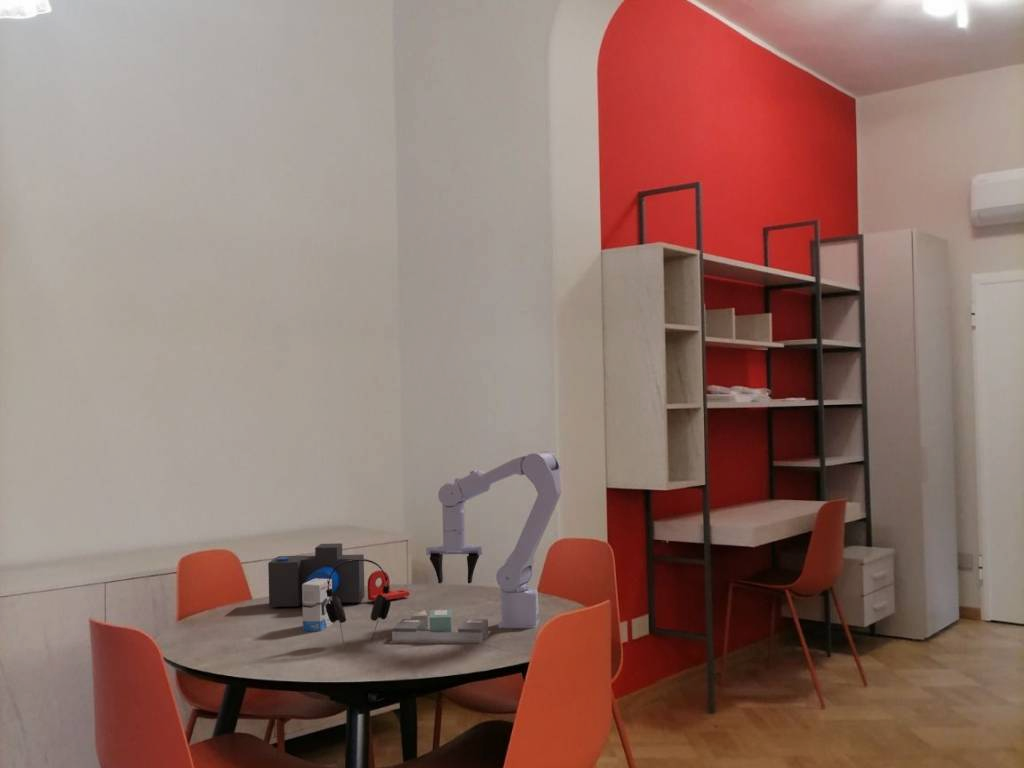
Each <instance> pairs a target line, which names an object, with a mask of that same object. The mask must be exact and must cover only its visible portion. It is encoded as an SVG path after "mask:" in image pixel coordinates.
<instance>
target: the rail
mask: <svg viewBox="0 0 1024 768" xmlns="http://www.w3.org/2000/svg"><path fill="white" fill-rule="evenodd" d="M455 631H456V630H452V631H393V630H392V631H391V641H392V642H411V644H412V643H417V644H418V643H421V644H422V643H425V644H427V643H429V644H431V643H433V644H434V643H438V644H440V643H442V644H443V643H444V644H447V643H450V644H455V643H456V644H460V643H461V644H475V643H476V644H481V643H482V642H483V641H482V638H481V632H455Z"/></svg>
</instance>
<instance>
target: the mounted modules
mask: <svg viewBox="0 0 1024 768" xmlns="http://www.w3.org/2000/svg"><path fill="white" fill-rule="evenodd" d="M392 631H425V619H409V618H402V619H401V620H400V621H399V622H398V623H397V624H396V625H395V626H394V627H393V628H392ZM457 631H458V632H481V638H482V642H483V640H484V639H486V638H485V636H486V635H487V633H488V631H489V619H480V618H479V619H476V618H475V619H471V618H470V619H466V618H465V619H464V620H463V622H462V623H461V624H460V626H459V627H458V628H457Z"/></svg>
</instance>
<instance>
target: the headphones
mask: <svg viewBox="0 0 1024 768" xmlns="http://www.w3.org/2000/svg"><path fill="white" fill-rule="evenodd" d="M351 561H364V562H368V563H371V564H373V565H375V566H377V567H378V568H379V569H380V571H382V572H383V573H384V572H385V571H384V570H383V568H382V567H381V566H380V565H379V564H378V563H377V562H375V561H373V560H370V559H366V558H364V559H352V560H347V561H345V562H343V563H341V564H339V565H338V566H337V567H335V569H334V570H333V571H332V573H331V575H330V578H331V576H332V574H333V572H334V571H335V570H336V569H337V568H338V567H339V566H341V565H342V564H345V563H348V562H351ZM384 576H385V573H384ZM330 578H329V581H328V580H327V582H328V589H327V590H326V592H327V597H330V600H331V596H333V593H332V589H329V582H330ZM387 578H388V577H386V576H385V579H386V585H387ZM388 591H389V586H388V585H387V586H383V593H385V595H386V594H387V593H388ZM342 604H343V603H341V602H340V599H339V598H338V597H335V598H333V600H331V601H330V603H327V604H326V605H325V607H326V611H327V614H328V617H329V619H330V621H331V622H332V623H333V624H334V623H336V621H337V622H339V625H340V629H341V630H340V631H341V632H343V629H342V623H345V622H346V621H347V617H346V613H345V610H344V608H343V605H342ZM390 608H391V599H389V600H388V599H386V598H385V596H384V597H383V596H382V595H378V596H377V597H376V599H375V601H373V605H372V610H371V614H370V619H371V621H375V622H376V621H377V622H376V624H375V628H374V630H377V629H376V628H377V625H378V621H379V620H380V619H381V620H383V621H384V620H385V619H387V617H388V614H389V611H390ZM375 633H376V631H374V632H373V635H372V637H371V638H370V641H368V643H370V642H371V641H372V640H373V638H374V637H375ZM341 637H342V639H344V637H343V634H341ZM342 642H343V643H344V642H345V641H344V640H342Z"/></svg>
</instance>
